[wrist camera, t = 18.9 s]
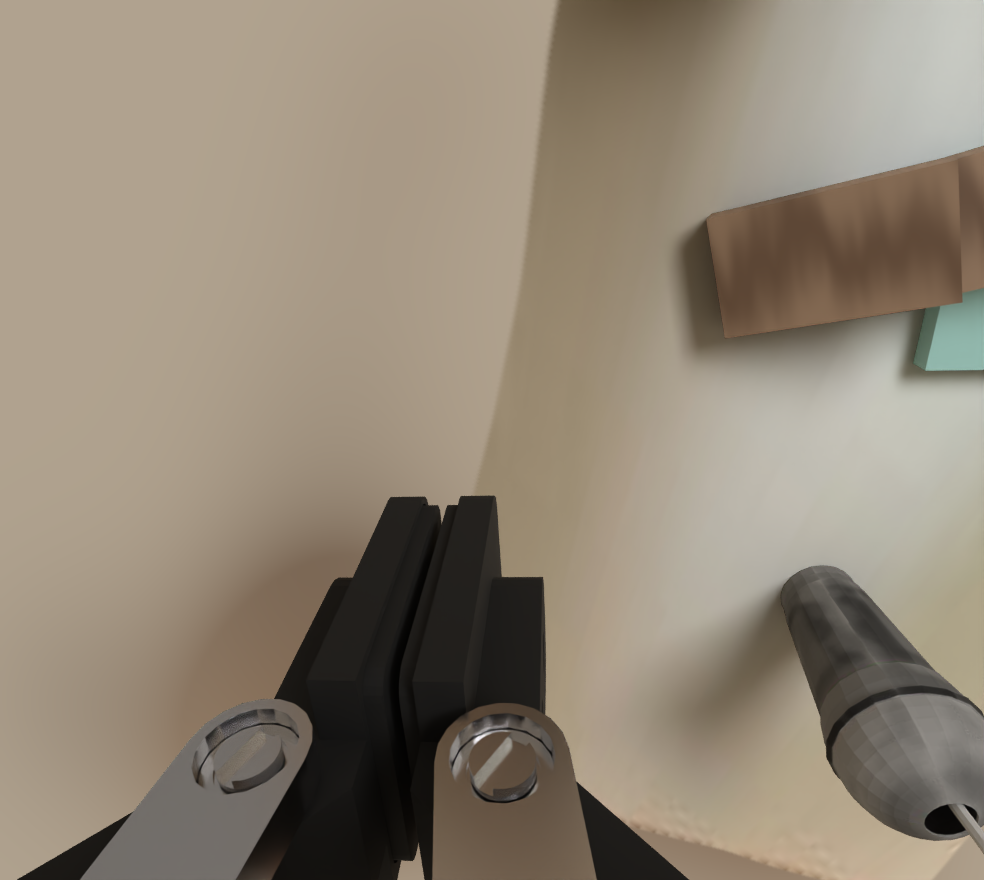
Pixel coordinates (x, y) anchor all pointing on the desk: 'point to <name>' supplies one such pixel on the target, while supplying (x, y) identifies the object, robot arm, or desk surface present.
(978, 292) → the teal domino
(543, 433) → the desk surface
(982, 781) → the beverage cup
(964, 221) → the domino
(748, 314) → the domino
